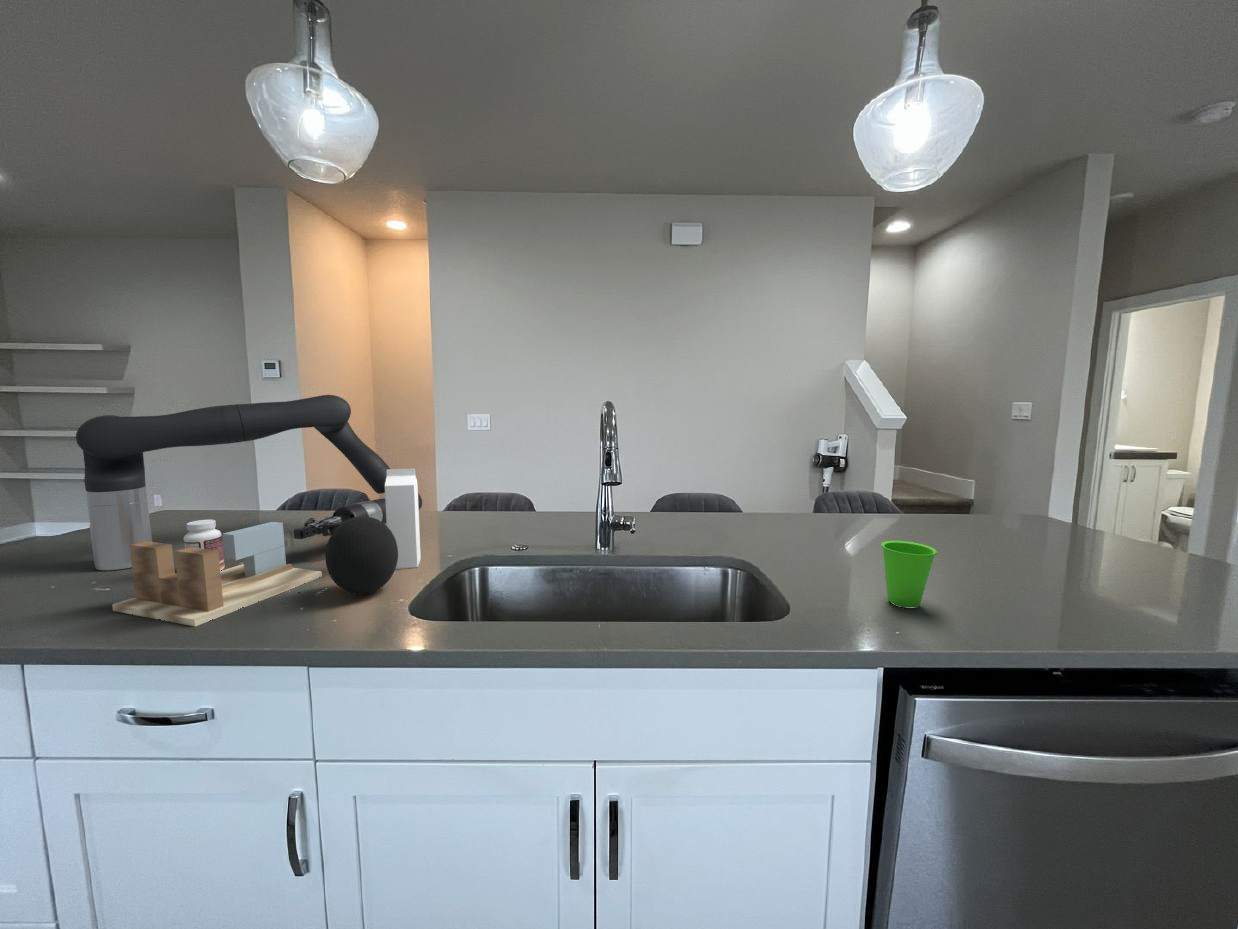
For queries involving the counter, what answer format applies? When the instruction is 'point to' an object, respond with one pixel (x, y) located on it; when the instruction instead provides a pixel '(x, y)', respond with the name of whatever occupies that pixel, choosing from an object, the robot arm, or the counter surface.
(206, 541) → the pill bottle
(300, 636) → the counter surface
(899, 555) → the cup
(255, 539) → the sliding plate
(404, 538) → the milk
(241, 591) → the jig
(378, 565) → the decorative egg
